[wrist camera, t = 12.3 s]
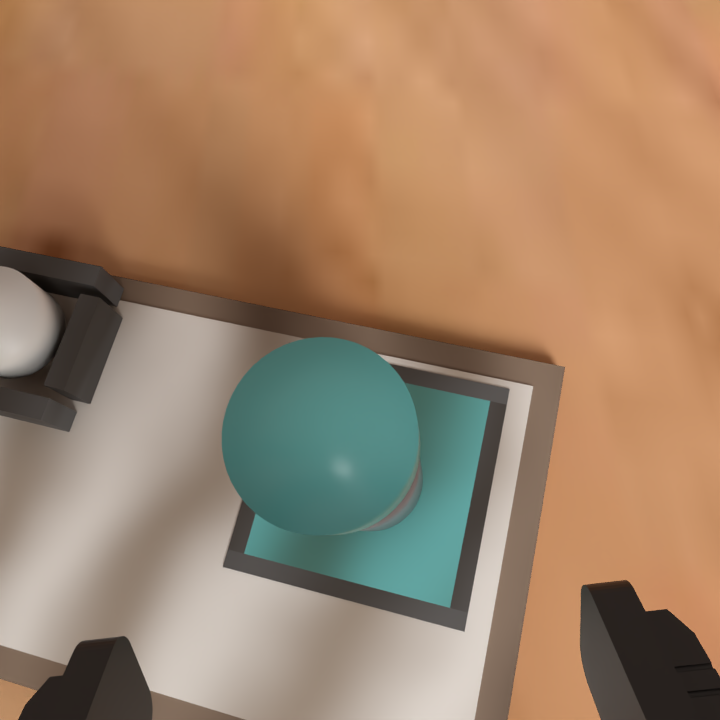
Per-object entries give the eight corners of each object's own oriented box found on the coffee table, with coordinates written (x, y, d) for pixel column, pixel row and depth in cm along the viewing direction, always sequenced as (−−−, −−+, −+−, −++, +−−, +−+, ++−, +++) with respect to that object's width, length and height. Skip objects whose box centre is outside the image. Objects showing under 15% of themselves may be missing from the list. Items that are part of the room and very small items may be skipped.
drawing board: (-165, 619, 24) (-240, 625, 22) (-3, 258, 29) (-48, 224, 26) (486, 822, 21) (497, 859, 18) (560, 373, 25) (577, 347, 22)
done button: (-43, 368, 25) (-81, 350, 23) (-5, 281, 26) (-38, 257, 24) (43, 388, 24) (11, 371, 22) (79, 299, 25) (52, 276, 23)
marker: (305, 517, 23) (195, 504, 13) (334, 413, 24) (254, 318, 13) (410, 547, 23) (389, 560, 12) (437, 439, 23) (439, 362, 13)
